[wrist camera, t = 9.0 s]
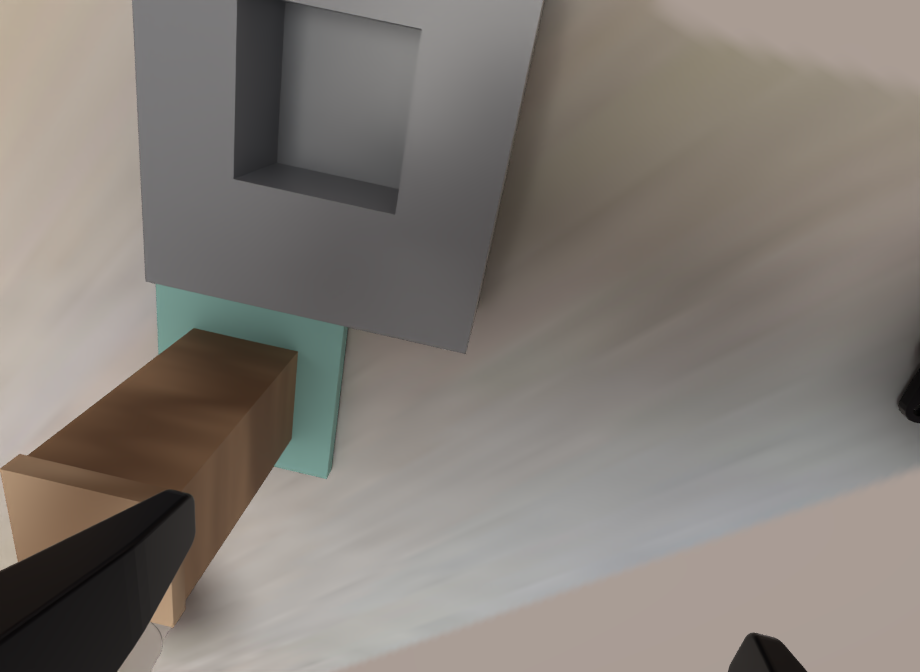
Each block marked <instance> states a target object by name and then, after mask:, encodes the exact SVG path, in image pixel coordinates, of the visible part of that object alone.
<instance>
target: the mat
mask: <svg viewBox="0 0 920 672" xmlns="http://www.w3.org/2000/svg"><path fill="white" fill-rule="evenodd" d="M156 301H157V327H158V352H159V354H160V353H162V352H163V351H164V350H166V349H167V348H168V347H170V346H171V345H172V344H173V343H175V342H176V341H177V340H179V339H180V338H181V337H183V336H184V335H185V334H186V333H188V332H189V331H190V330H192V329H193V328H196V329H200V330H205V331H209V332H214V333H218V334H223V335H227V336H231V337H236V338H240V339H245V340H249V341H254V342H258V343H262V344H267V345H271V346H276V347H280V348H285V349H289V350H293V351H298V360H297V374H296V387H295V401H294V414H293V428H292V439H291V441H290V442H289V444H288V446H287V447H286V449H285V450H284V452H283V453H282V455H281V456H280V458H279V459H278V461H277V462H276V464H275V465H274V467H278V468H282V469H286V470H291V471H295V472H299V473H303V474H308V475H312V476H316V477H320V478H325V479H327V477H328V475H329V473H330V471H331V468H332V460H333V451H334V442H335V434H336V425H337V417H338V408H339V400H340V391H341V383H342V374H343V366H344V357H345V349H346V340H347V332H348V327H345V326H340V325H336V324H331V323H327V322H323V321H318V320H314V319H309V318H305V317H300V316H296V315H292V314H287V313H283V312H278V311H274V310H270V309H265V308H261V307H256V306H252V305H248V304H243V303H239V302H234V301H230V300H226V299H221V298H217V297H212V296H208V295H203V294H199V293H195V292H190V291H186V290H181V289H177V288H173V287H168V286H164V285H159V284H156Z"/></svg>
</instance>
